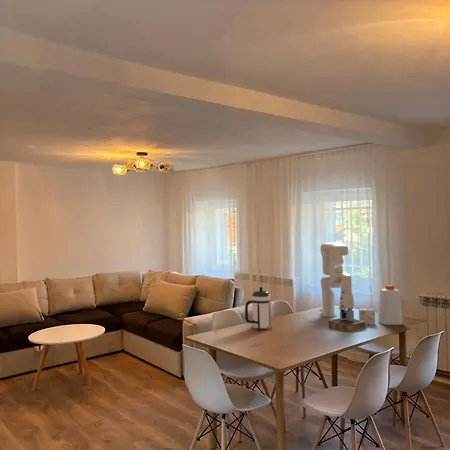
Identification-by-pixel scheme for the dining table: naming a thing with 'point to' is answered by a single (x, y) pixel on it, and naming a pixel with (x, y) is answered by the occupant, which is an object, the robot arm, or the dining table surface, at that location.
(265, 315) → the coffee press
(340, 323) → the walnut stand
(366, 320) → the light bulb box
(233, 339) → the dining table surface
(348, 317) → the block
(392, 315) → the plastic bottle
